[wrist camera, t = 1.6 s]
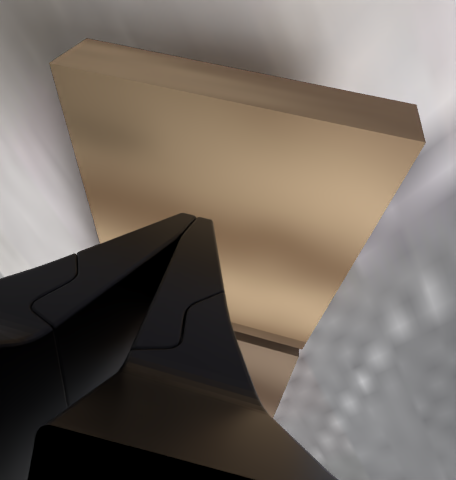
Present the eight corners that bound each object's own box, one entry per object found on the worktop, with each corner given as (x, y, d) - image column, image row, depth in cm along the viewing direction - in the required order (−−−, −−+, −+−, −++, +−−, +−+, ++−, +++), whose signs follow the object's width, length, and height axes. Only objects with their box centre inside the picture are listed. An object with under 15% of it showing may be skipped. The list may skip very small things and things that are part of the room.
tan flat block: (267, 409, 25) (263, 440, 23) (133, 370, 25) (119, 397, 24) (300, 325, 20) (298, 356, 18) (134, 281, 21) (116, 306, 19)
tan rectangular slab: (305, 315, 19) (302, 349, 17) (131, 269, 20) (115, 298, 18) (416, 104, 10) (425, 142, 8) (86, 38, 11) (49, 62, 9)
